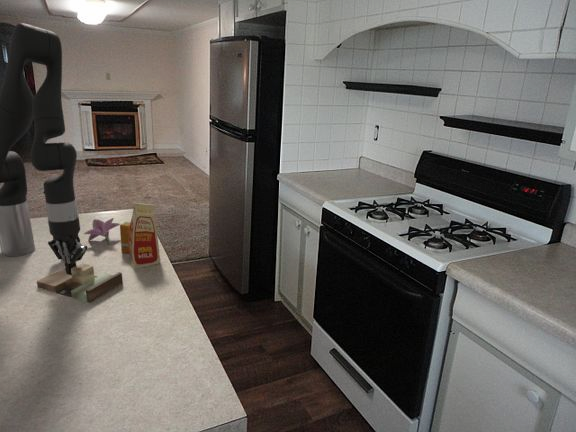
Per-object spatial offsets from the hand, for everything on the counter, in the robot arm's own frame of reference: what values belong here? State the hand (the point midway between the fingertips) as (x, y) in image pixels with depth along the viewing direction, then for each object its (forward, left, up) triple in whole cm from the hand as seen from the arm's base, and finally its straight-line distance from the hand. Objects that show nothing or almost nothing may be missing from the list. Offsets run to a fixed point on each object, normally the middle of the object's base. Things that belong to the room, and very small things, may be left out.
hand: (71, 273), depth 121 cm
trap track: (+3, 0, -3) cm, 4 cm away
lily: (-16, +28, -4) cm, 33 cm away
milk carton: (+8, +22, -3) cm, 24 cm away
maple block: (+4, 0, -1) cm, 4 cm away
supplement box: (-2, +25, -3) cm, 25 cm away
